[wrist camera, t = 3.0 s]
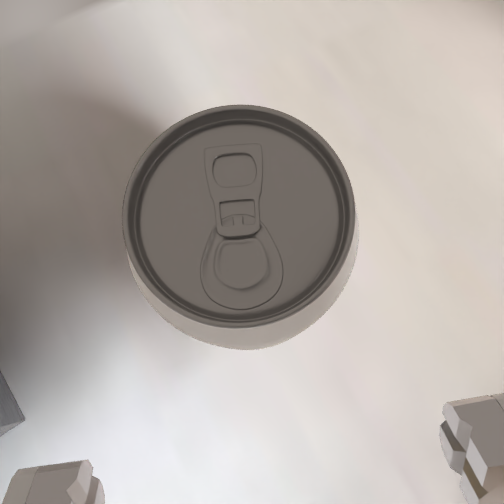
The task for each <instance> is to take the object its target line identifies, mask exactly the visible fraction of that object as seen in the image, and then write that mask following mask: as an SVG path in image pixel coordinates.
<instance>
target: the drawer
mask: <svg viewBox="0 0 504 504" xmlns="http://www.w3.org/2000/svg"><path fill="white" fill-rule="evenodd" d="M24 420H25V418H24V416H23V414H22V412H21V410H20V408H19V407H18V405H17V403H16V401H15V399H14V397H13V395H12V393H11V391H10V389H9V387H8V385H7V383H6V381H5V379H4V377H3V375H2V373H1V371H0V436H1V435H3V434H4V433H6V432H8V431H9V430H11V429H12V428H14V427H15V426H17V425H18V424H20V423H21V422H23V421H24Z"/></svg>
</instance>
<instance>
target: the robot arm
mask: <svg viewBox="0 0 504 504" xmlns="http://www.w3.org/2000/svg"><path fill="white" fill-rule="evenodd" d="M442 413H443V415H444V417H445V419H446V420H445V421H444V422H443V423H442V424H441V425H440V434H439V436H440V442H441V447H442V450H443V453H444V456H445V458H446V460H447V462H448V464H449V466H450V468H451V469H453V470H454V471H455V472H457V473H458V474H460V475H461V476H462V477H461V482H460V489H461V491H462V493H463V495H464V497H465V499H466V501H467V503H468V504H504V393H501V394H496V395H490V396H488V395H486V396H480V397H474V398H468V399H463V400H457V401H451V402H446V403H445V405H444V406H443V412H442ZM92 472H93V467H92V465H91V463H90V462H89V460H81V461H74V462H67V463H60V464H53V465H46V466H37V467H31V468H25V469H18V471H17V472H16V473H15V475H14V476H13V477H12V479H11V482H10V484H9V487H8V490H7V492H6V495H5V497H4V500H3V503H2V504H105V494H104V490H103V485H102V484H101V482H100V480H99V479H98V478H96V477H94V476H92Z"/></svg>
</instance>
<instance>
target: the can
mask: <svg viewBox="0 0 504 504" xmlns="http://www.w3.org/2000/svg"><path fill="white" fill-rule="evenodd" d="M122 226H123V235H124V240H125V244H126V251H127V257H128V261H129V265H130V268H131V271H132V274H133V276H134V279H135V281H136V283H137V285H138V287H139V289H140V290H141V292H142V294H143V295H144V297H145V298H146V300H147V301H148V302H149V303H150V305H151V306H152V307H153V308H154V309H155V310H156V311H157V312H158V313H159V315H161V316H162V317H163V318H164V319H165V320H166V321H167V322H168V323H170V324H171V325H172V326H174V327H175V328H177V329H178V330H180V331H182V332H183V333H185V334H187V335H189V336H191V337H193V338H195V339H198V340H200V341H203V342H206V343H209V344H212V345H216V346H220V347H225V348H231V349H238V350H259V349H264V348H268V347H272V346H275V345H278V344H280V343H283V342H285V341H287V340H289V339H291V338H292V337H294V336H296V335H298V334H299V333H301V332H303V331H304V330H305V329H307V328H308V327H310V326H311V325H312V324H314V323H315V322H316V321H317V320H318V319H319V318H321V317H322V316H323V315H324V314H325V313H326V312H327V311H328V309H329V308H330V307H331V306H332V305H333V304H334V302H335V301H336V300H337V298H338V297H339V295H340V294H341V292H342V291H343V289H344V287H345V285H346V283H347V281H348V279H349V277H350V274H351V272H352V269H353V266H354V263H355V259H356V255H357V249H358V241H359V223H358V215H357V210H356V205H355V201H354V195H353V190H352V186H351V183H350V180H349V177H348V175H347V172H346V170H345V168H344V166H343V164H342V162H341V160H340V159H339V157H338V156H337V154H336V153H335V151H334V150H333V149H332V147H331V146H330V145H329V144H328V143H327V142H326V141H325V140H324V139H323V138H322V137H321V136H320V135H319V134H318V133H317V132H316V131H314V130H313V129H312V128H311V127H309V126H308V125H306V124H305V123H303V122H302V121H300V120H298V119H296V118H294V117H292V116H290V115H288V114H285V113H283V112H280V111H277V110H274V109H270V108H266V107H261V106H254V105H228V106H220V107H215V108H211V109H207V110H204V111H201V112H198V113H195V114H193V115H191V116H188V117H186V118H184V119H183V120H181V121H179V122H177V123H176V124H174V125H173V126H171V127H170V128H169V129H167V130H166V131H165V132H163V133H162V134H161V135H160V136H159V137H158V138H157V139H156V140H155V141H154V142H153V143H152V144H151V145H150V146H149V147H148V149H147V150H146V151H145V152H144V154H143V155H142V157H141V158H140V160H139V161H138V163H137V165H136V166H135V168H134V170H133V172H132V175H131V177H130V180H129V182H128V185H127V188H126V192H125V197H124V202H123V212H122Z"/></svg>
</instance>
